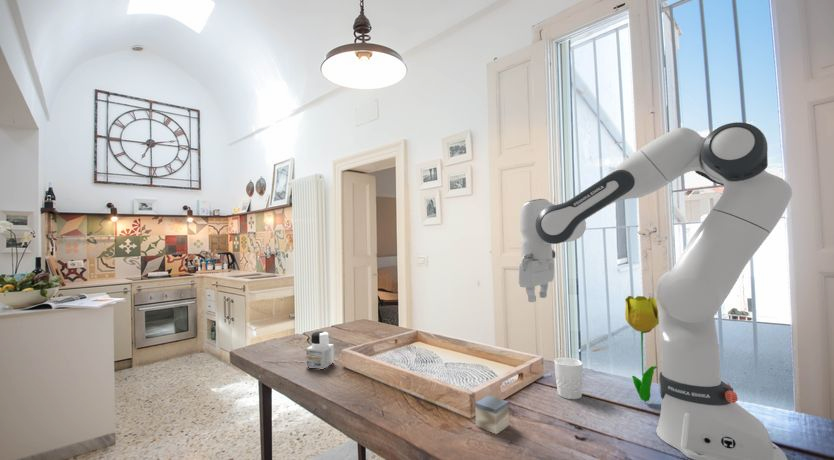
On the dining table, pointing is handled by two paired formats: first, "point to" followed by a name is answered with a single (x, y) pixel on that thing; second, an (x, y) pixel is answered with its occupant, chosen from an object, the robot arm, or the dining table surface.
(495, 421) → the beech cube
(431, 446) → the dining table surface
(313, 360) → the container
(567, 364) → the white cup
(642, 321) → the flower
